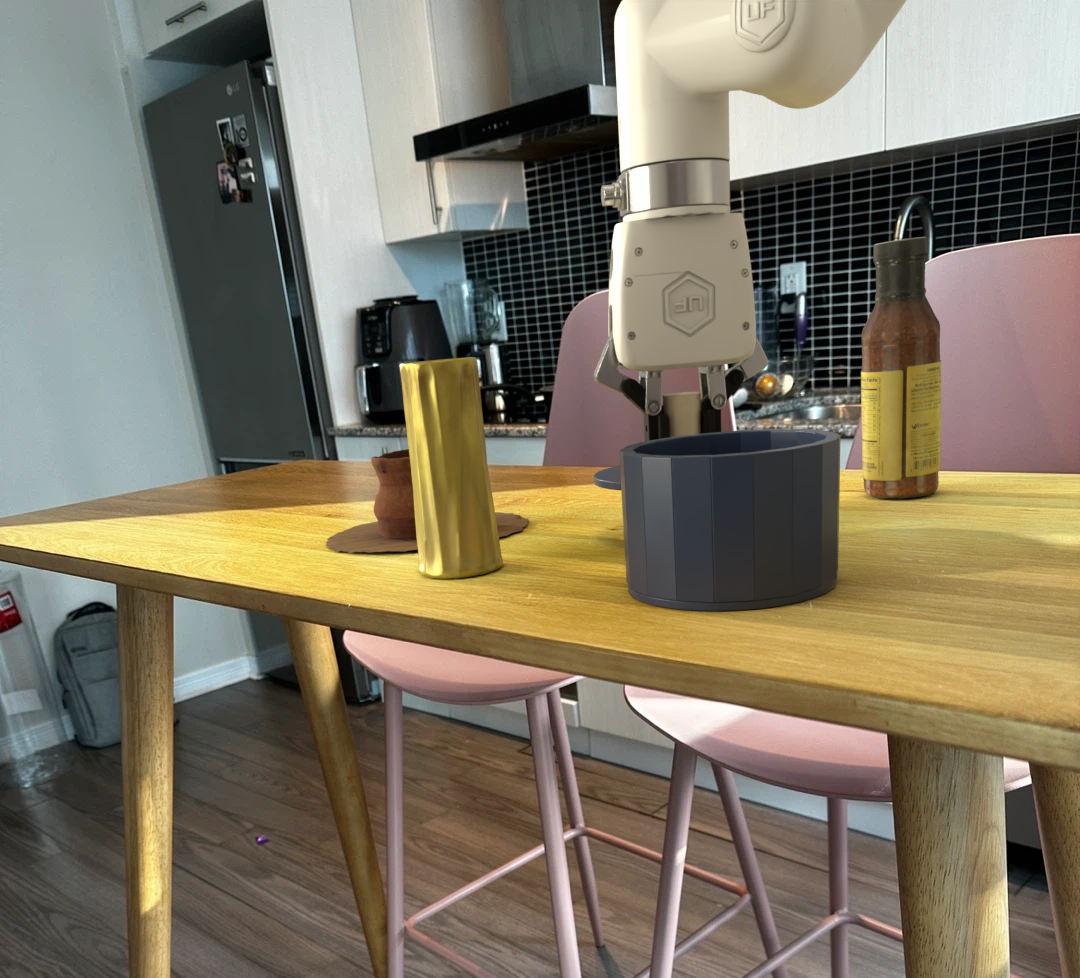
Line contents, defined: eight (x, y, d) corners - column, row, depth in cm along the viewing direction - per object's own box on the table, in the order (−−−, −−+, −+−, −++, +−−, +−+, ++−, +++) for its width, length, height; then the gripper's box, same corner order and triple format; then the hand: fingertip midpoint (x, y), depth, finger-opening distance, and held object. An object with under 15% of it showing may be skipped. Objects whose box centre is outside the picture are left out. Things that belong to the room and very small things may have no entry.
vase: (484, 579, 70) (461, 359, 65) (404, 579, 72) (375, 366, 67) (515, 559, 76) (496, 354, 71) (439, 560, 78) (415, 361, 73)
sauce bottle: (936, 487, 89) (948, 236, 82) (942, 499, 84) (955, 231, 77) (857, 490, 91) (863, 245, 84) (858, 502, 86) (864, 241, 79)
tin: (759, 552, 71) (758, 425, 68) (883, 586, 60) (888, 435, 57) (594, 582, 67) (585, 448, 64) (693, 624, 56) (688, 463, 53)
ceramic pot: (505, 549, 80) (496, 456, 77) (292, 559, 83) (276, 471, 81) (545, 509, 96) (538, 431, 94) (365, 519, 100) (355, 445, 97)
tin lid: (714, 466, 87) (713, 383, 85) (813, 481, 75) (815, 385, 73) (566, 487, 83) (560, 400, 80) (646, 507, 71) (641, 406, 68)
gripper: (569, 199, 68) (586, 482, 74) (807, 182, 69) (804, 461, 76) (553, 213, 75) (571, 470, 81) (770, 196, 76) (770, 451, 83)
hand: (683, 463), depth 78 cm, fingers closed on tin lid, 2 cm apart
